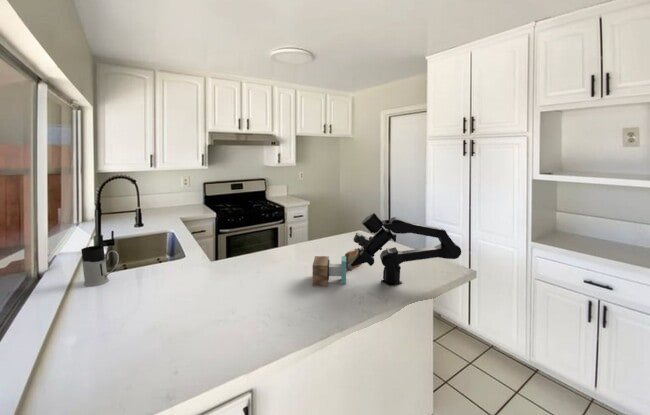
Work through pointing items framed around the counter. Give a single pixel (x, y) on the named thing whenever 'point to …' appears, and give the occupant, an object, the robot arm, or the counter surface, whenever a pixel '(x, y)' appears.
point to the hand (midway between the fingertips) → (351, 265)
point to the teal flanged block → (339, 269)
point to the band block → (321, 271)
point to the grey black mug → (95, 265)
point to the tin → (351, 259)
